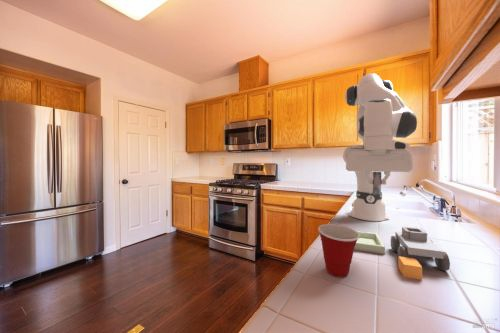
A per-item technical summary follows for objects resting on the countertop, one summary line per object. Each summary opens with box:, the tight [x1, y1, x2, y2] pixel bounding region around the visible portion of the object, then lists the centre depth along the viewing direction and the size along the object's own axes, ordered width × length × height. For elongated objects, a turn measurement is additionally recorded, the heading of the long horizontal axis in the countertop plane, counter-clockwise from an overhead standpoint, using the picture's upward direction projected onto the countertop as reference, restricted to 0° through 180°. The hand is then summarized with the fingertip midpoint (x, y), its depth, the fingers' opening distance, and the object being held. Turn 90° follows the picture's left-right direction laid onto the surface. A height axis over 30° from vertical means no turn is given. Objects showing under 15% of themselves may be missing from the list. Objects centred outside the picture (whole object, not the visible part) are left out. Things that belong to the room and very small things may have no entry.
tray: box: [354, 230, 386, 255], centre depth 77 cm, size 13×10×2 cm
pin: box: [372, 171, 382, 195], centre depth 74 cm, size 3×3×8 cm
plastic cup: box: [317, 223, 360, 278], centre depth 58 cm, size 11×11×12 cm
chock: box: [397, 256, 423, 281], centre depth 58 cm, size 5×4×4 cm
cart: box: [390, 226, 451, 272], centre depth 65 cm, size 14×11×8 cm
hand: (376, 184), depth 74 cm, fingers closed on pin, 3 cm apart
